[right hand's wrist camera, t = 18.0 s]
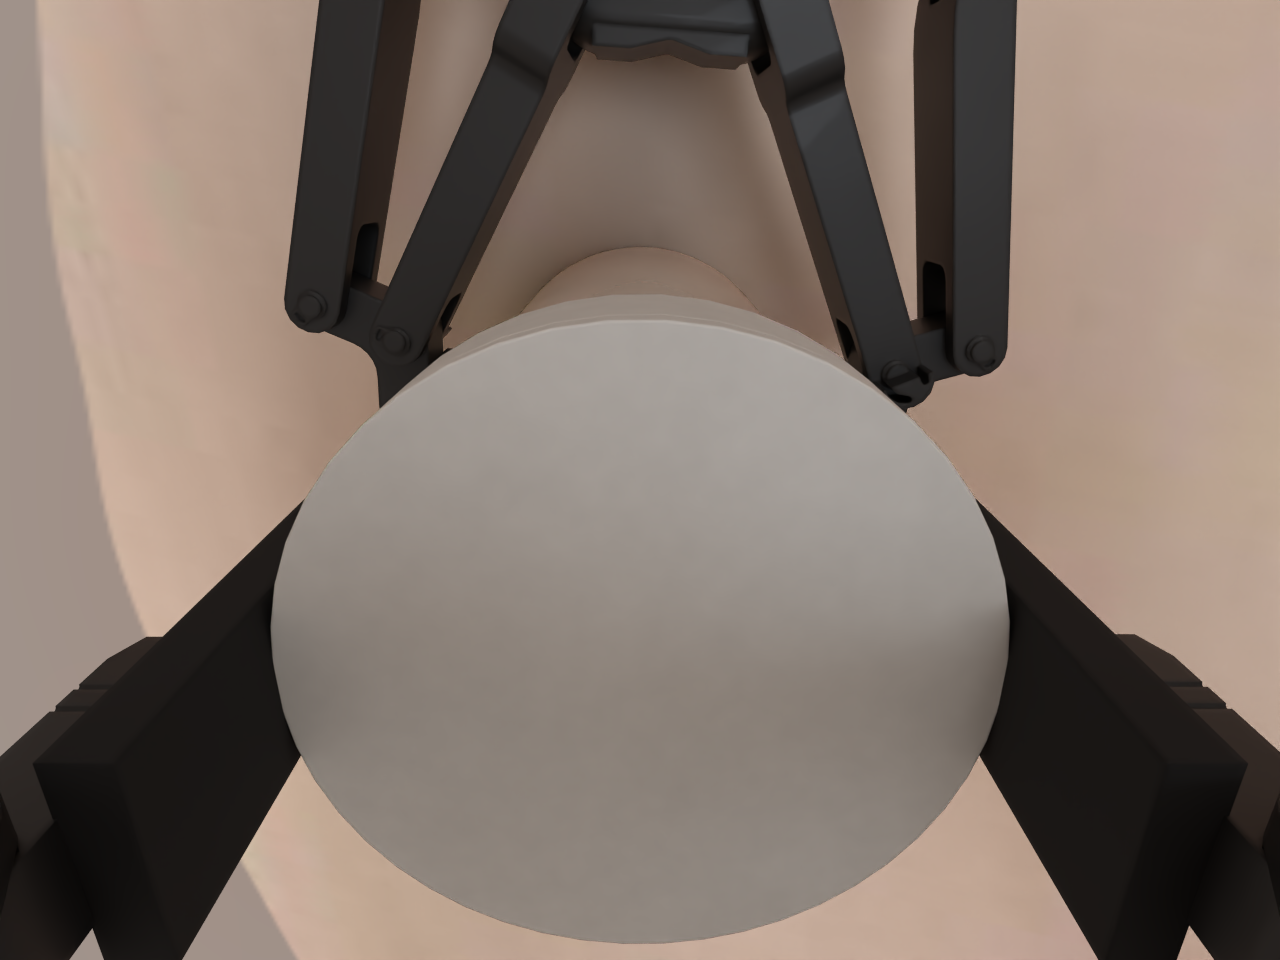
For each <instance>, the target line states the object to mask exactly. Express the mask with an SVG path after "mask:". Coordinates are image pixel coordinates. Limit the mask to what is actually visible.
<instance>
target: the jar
mask: <svg viewBox="0 0 1280 960" xmlns="http://www.w3.org/2000/svg"><path fill="white" fill-rule="evenodd" d="M640 294H662V295H670V296H678V297H686V298H694V299H702V300H709V301H713V302H717V303H721V304H724V305H728V306H732V307H736V308H739V309H743V310H747V311H751V312H754V313H757V314H759V315H761V313H760V312H759V311H758V310H757V309H756V308H755V307H754V305H753V304H752V303H751V302H750V301H749V300H748V298H747V297H746V296H745V295H744V294H743V293H742V291H741V290H740V289H739V288H738V287H737V286H735V285H734V284H733V283H732V282H731V281H730V280H729V279H728V278H727V277H725V276H724V275H723V274H721V273H720V272H719V271H717V270H716V269H714V268H713V267H711V266H709V265H707V264H706V263H704V262H702V261H700V260H698V259H696V258H693V257H691V256H688V255H685V254H682V253H680V252H676V251H671V250H667V249H662V248H652V247H627V248H619V249H614V250H609V251H604V252H601V253H598V254H595V255H592V256H589V257H587V258H585V259H583V260H581V261H579V262H577V263H575V264H573V265H571V266H569V267H568V268H566V269H565V270H563V271H562V272H560V273H559V274H557V275H556V276H555V277H554V278H552V279H551V280H550V281H549V282H548V283H547V284H546V285H545V286H544V287H543V288H542V289H541V290H540V291H539V292H538V293H537V294H536V295H535V297H534V298H533V299H532V300H531V301H530V302H529V304H528V305H527V306H526V307H525V308H524V309H523V311H522V312H521V313H520V314H524V313H527V312H531V311H534V310H538V309H541V308H545V307H548V306H552V305H555V304H559V303H562V302H566V301H573V300H580V299H587V298H594V297H601V296H608V295H640ZM520 314H519V315H520ZM761 316H762V315H761Z"/></svg>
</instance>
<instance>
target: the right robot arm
mask: <svg viewBox="0 0 1280 960" xmlns="http://www.w3.org/2000/svg"><path fill="white" fill-rule="evenodd" d="M304 500H305V499H304ZM304 500H303V501H302V502H301V503H300V504H299V505H298V506H297V507H296V508H295V509H294V510H293V511H292V512H291V513H290V514H289V515H288V516H287V517H286V518H285V519H284V520H283V521H282V522H280V523H279V524H278V525H277V526H276V527H275V528H274V529H273V530H272V531H271V532H270V533H269V534H268V535H267V536H266V537H265V538H264V539H263V540H262V541H261V542H260V543H259V544H258V545H257V546H256V547H255V548H254V549H253V550H252V551H251V552H250V553H249V554H248V555H246V556H245V557H244V558H243V559H242V560H241V561H240V562H239V563H238V564H237V565H236V566H235V567H234V568H233V569H232V570H231V571H230V572H229V573H228V574H227V575H226V576H225V577H224V578H223V579H222V580H221V581H220V582H219V583H218V584H217V585H216V586H215V587H214V588H213V589H211V590H210V591H209V592H208V593H207V594H206V595H205V596H204V597H203V598H202V599H201V600H200V601H199V602H198V603H197V604H196V605H195V606H194V607H193V608H192V609H191V610H190V611H189V612H188V613H187V614H186V615H185V616H184V617H183V618H182V619H181V620H180V621H179V622H177V623H176V624H175V625H174V626H173V627H172V628H171V629H170V630H169V631H168V632H167V633H166V634H165V635H164V636H163V637H145V638H144V639H142V640H140V641H138V642H137V643H135V644H133V645H131V646H129V647H128V648H126V649H124V650H122V651H121V652H119V653H117V654H115V655H113V656H112V657H110V658H108V659H107V660H106V661H105V662H103V663H102V664H101V665H100V666H99V667H98V668H97V669H96V670H95V671H94V672H93V673H91V674H90V675H89V676H88V677H87V678H86V679H85V680H84V681H83V682H82V683H80V684H79V686H80V687H79V689H78V690H73V691H72V692H71V693H70V694H68V695H67V696H66V697H65V698H64V699H63V700H62V701H61V702H60V703H59V704H57V705H56V710H55V712H49V713H48V714H46V715H45V716H44V717H43V718H42V719H41V720H40V721H39V722H38V723H37V724H35V725H34V726H33V727H32V728H31V729H30V730H29V731H28V732H27V733H26V734H24V735H23V736H22V737H21V738H20V739H19V740H18V741H17V742H16V743H15V744H14V745H12V746H11V747H10V748H9V749H8V750H7V751H6V752H5V753H4V754H3V755H1V756H0V960H69V959H70V958H71V957H72V955H73V954H74V953H75V951H76V950H77V948H78V947H79V946H80V944H81V943H82V942H83V940H84V939H85V937H86V936H87V935H88V933H89V932H90V931H91V929H92V928H93V931H94V934H95V936H96V939H97V942H98V945H99V947H100V950H101V953H102V956H103V958H104V960H182V959H183V957H184V955H185V954H186V952H187V950H188V949H189V947H190V945H191V943H192V942H193V940H194V938H195V937H196V935H197V933H198V931H199V930H200V928H201V926H202V925H203V923H204V921H205V919H206V918H207V916H208V914H209V913H210V911H211V909H212V907H213V906H214V904H215V902H216V900H217V899H218V897H219V895H220V894H221V892H222V890H223V888H224V887H225V885H226V883H227V882H228V880H229V878H230V876H231V875H232V873H233V871H234V870H235V868H236V866H237V865H238V863H239V861H240V859H241V858H242V856H243V854H244V852H245V851H246V849H247V847H248V846H249V844H250V842H251V840H252V839H253V837H254V835H255V834H256V832H257V830H258V828H259V827H260V825H261V823H262V822H263V820H264V818H265V816H266V815H267V813H268V811H269V810H270V808H271V806H272V804H273V803H274V801H275V799H276V798H277V796H278V794H279V792H280V791H281V789H282V787H283V786H284V784H285V782H286V780H287V779H288V777H289V775H290V773H291V772H292V770H293V768H294V767H295V765H296V763H297V761H298V760H299V758H300V756H301V754H300V752H299V750H298V749H297V747H296V745H295V742H294V739H293V737H292V734H291V732H290V729H289V726H288V724H287V721H286V718H285V716H284V712H283V708H282V703H281V698H280V693H279V689H278V684H277V679H276V674H275V670H274V664H273V658H272V644H271V628H270V627H271V616H272V606H273V595H274V585H275V581H276V577H277V573H278V569H279V565H280V562H281V558H282V554H283V550H284V546H285V542H286V540H287V538H288V536H289V533H290V531H291V529H292V527H293V524H294V522H295V520H296V518H297V515H298V513H299V511H300V508H301V506H302V504H303V502H304ZM975 500H976V499H975ZM976 502H977V504H978V506H979V508H980V510H981V512H982V515H983V517H984V519H985V521H986V523H987V525H988V527H989V530H990V532H991V534H992V536H993V539H994V542H995V546H996V550H997V553H998V557H999V560H1000V564H1001V567H1002V571H1003V574H1004V578H1005V584H1006V593H1007V602H1008V610H1009V619H1010V630H1009V654H1008V662H1007V667H1006V672H1005V677H1004V682H1003V687H1002V691H1001V696H1000V701H999V706H998V710H997V714H996V716H995V719H994V722H993V725H992V728H991V730H990V733H989V736H988V739H987V741H986V743H985V745H984V747H983V749H982V751H981V753H980V757H981V759H982V761H983V762H984V764H985V766H986V767H987V769H988V771H989V773H990V774H991V776H992V778H993V780H994V781H995V783H996V785H997V786H998V788H999V790H1000V792H1001V793H1002V795H1003V797H1004V798H1005V800H1006V802H1007V804H1008V805H1009V807H1010V809H1011V810H1012V812H1013V814H1014V816H1015V817H1016V819H1017V821H1018V822H1019V824H1020V826H1021V828H1022V829H1023V831H1024V833H1025V834H1026V836H1027V838H1028V840H1029V841H1030V843H1031V845H1032V846H1033V848H1034V850H1035V852H1036V853H1037V855H1038V857H1039V858H1040V860H1041V862H1042V864H1043V865H1044V867H1045V869H1046V871H1047V872H1048V874H1049V876H1050V877H1051V879H1052V881H1053V883H1054V884H1055V886H1056V888H1057V889H1058V891H1059V893H1060V895H1061V896H1062V898H1063V900H1064V901H1065V903H1066V905H1067V907H1068V908H1069V910H1070V912H1071V913H1072V915H1073V917H1074V919H1075V920H1076V922H1077V924H1078V925H1079V927H1080V929H1081V931H1082V932H1083V934H1084V936H1085V937H1086V939H1087V941H1088V943H1089V944H1090V946H1091V948H1092V950H1093V951H1094V953H1095V955H1096V956H1097V958H1098V960H1177V957H1178V954H1179V952H1180V949H1181V946H1182V944H1183V941H1184V938H1185V935H1186V933H1187V930H1188V927H1189V926H1190V927H1191V928H1192V930H1193V931H1194V932H1195V934H1196V935H1197V937H1198V938H1199V939H1200V941H1201V942H1202V943H1203V945H1204V946H1205V947H1206V949H1207V950H1208V952H1209V953H1210V954H1211V956H1212V957H1213V958H1214V960H1280V752H1279V751H1278V750H1277V749H1276V748H1275V747H1274V746H1273V745H1271V744H1270V743H1269V742H1268V741H1267V740H1266V739H1265V738H1264V737H1263V736H1261V735H1260V734H1259V733H1258V732H1257V731H1256V730H1255V729H1254V728H1253V727H1252V726H1250V725H1249V724H1248V723H1247V722H1246V721H1245V720H1244V719H1243V718H1242V717H1240V716H1239V715H1238V714H1237V713H1236V712H1235V711H1234V710H1233V709H1227V708H1226V703H1225V702H1224V701H1223V700H1222V699H1221V698H1219V697H1218V696H1217V695H1216V694H1215V693H1214V692H1213V691H1212V690H1211V689H1210V688H1208V687H1203V686H1202V681H1201V680H1200V679H1198V678H1197V677H1196V676H1195V675H1194V674H1193V673H1192V672H1191V671H1190V670H1189V669H1187V668H1186V667H1185V666H1184V665H1183V664H1182V663H1181V662H1180V661H1179V660H1178V659H1176V658H1175V657H1174V656H1173V655H1171V654H1169V653H1167V652H1165V651H1164V650H1162V649H1160V648H1158V647H1156V646H1155V645H1153V644H1151V643H1149V642H1147V641H1146V640H1144V639H1142V638H1140V637H1139V636H1137V635H1135V634H1114V633H1113V632H1112V631H1111V630H1110V629H1109V628H1108V627H1107V626H1106V625H1105V624H1104V623H1103V622H1102V621H1101V620H1100V619H1099V618H1098V617H1097V616H1096V615H1095V614H1094V613H1093V612H1092V611H1091V610H1090V609H1089V608H1088V607H1087V606H1086V605H1085V604H1083V603H1082V602H1081V601H1080V600H1079V599H1078V598H1077V597H1076V596H1075V595H1074V594H1073V593H1072V592H1071V591H1070V590H1069V589H1068V588H1067V587H1066V586H1065V585H1064V584H1063V583H1062V582H1061V581H1060V580H1059V579H1058V578H1057V577H1056V576H1055V575H1054V574H1053V573H1052V572H1051V571H1049V570H1048V569H1047V568H1046V567H1045V566H1044V565H1043V564H1042V563H1041V562H1040V561H1039V560H1038V559H1037V558H1036V557H1035V556H1034V555H1033V554H1032V553H1031V552H1030V551H1029V550H1028V549H1027V548H1026V547H1025V546H1024V545H1023V544H1022V543H1021V542H1020V541H1019V540H1018V539H1017V538H1015V537H1014V536H1013V535H1012V534H1011V533H1010V532H1009V531H1008V530H1007V529H1006V528H1005V527H1004V526H1003V525H1002V524H1001V523H1000V522H999V521H998V520H997V519H996V518H995V517H994V516H993V515H992V514H991V513H990V512H989V511H988V510H987V509H986V508H985V507H984V506H983V505H981V504H980V503H979V502H978V501H977V500H976Z"/></svg>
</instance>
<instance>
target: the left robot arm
mask: <svg viewBox="0 0 1280 960" xmlns="http://www.w3.org/2000/svg"><path fill="white" fill-rule="evenodd" d="M420 2H421V0H319V7H318V16H317V24H316V33H315V41H314V50H313V58H312V67H311V75H310V84H309V92H308V101H307V109H306V118H305V126H304V135H303V143H302V152H301V160H300V169H299V177H298V186H297V194H296V203H295V211H294V220H293V228H292V237H291V245H290V254H289V262H288V271H287V279H286V288H285V296H284V301H285V310H286V312H287V314H288V316H289V318H290V320H291V321H292V322H293V323H294V324H295V325H296V326H297V327H299V328H301V329H303V330H305V331H307V332H313V333H321V332H324V331H325V332H327V333H330V334H332V335H335V336H337V337H339V338H342V339H344V340H347V341H349V342H351V343H354V344H355V345H357V346H359V347H361V348H362V349H363V350H364V351H365V352H367V353H368V355H369V356H370V357H371V359H372V360H373V362H374V364H375V367H376V370H377V375H378V390H379V407H380V408H381V407H382V406H383V405H385V404H386V403H387V402H388V401H389V400H390V399H391V398H392V397H393V396H395V395H396V394H397V393H398V392H399V391H400V390H401V389H402V388H403V387H405V386H406V385H407V384H408V383H409V382H410V381H411V380H413V379H414V378H415V377H416V376H417V375H419V374H420V373H421V372H422V371H423V370H425V369H426V368H427V367H428V366H429V365H431V364H432V363H433V362H434V361H435V360H437V359H438V358H439V357H440V356H442V355H443V354H445V353H447V352H448V351H450V350H452V349H451V348H447V349H446V350H445V351H444V352H443V337H445V336H446V335H447V334H448V332H449V331H450V330H451V329H452V328H451V327H449V325H450V323H451V321H452V319H453V316H454V314H455V312H456V310H457V308H458V306H459V304H460V302H461V300H462V298H463V296H464V294H465V292H466V289H467V287H468V285H469V283H470V281H471V279H472V277H473V275H474V273H475V271H476V269H477V267H478V265H479V262H480V260H481V258H482V256H483V254H484V252H485V250H486V248H487V246H488V244H489V242H490V240H491V238H492V235H493V233H494V231H495V229H496V227H497V225H498V223H499V221H500V219H501V217H502V215H503V213H504V211H505V208H506V206H507V204H508V202H509V200H510V198H511V196H512V194H513V192H514V190H515V188H516V186H517V184H518V181H519V179H520V177H521V175H522V173H523V171H524V169H525V167H526V165H527V163H528V161H529V159H530V157H531V154H532V152H533V150H534V148H535V146H536V144H537V142H538V140H539V138H540V136H541V134H542V132H543V130H544V127H545V125H546V123H547V121H548V119H549V117H550V115H551V113H552V111H553V109H554V107H555V105H556V103H557V101H558V99H559V98H560V96H561V95H562V94H563V92H564V91H565V89H566V87H567V86H568V84H569V82H570V80H571V78H572V76H573V74H574V72H575V69H576V67H577V65H578V63H579V61H580V59H581V57H582V55H583V53H584V51H585V50H587V51H589V52H592V53H594V54H596V57H597V59H602V60H615V61H628V62H632V61H637V60H641V59H646V58H650V57H655V56H659V55H664V54H669V55H672V56H674V57H677V58H680V59H682V60H685V61H687V62H690V63H693V64H695V65H698V66H700V67H707V68H720V69H733V70H736V69H737V68H738V66H739V65H741V64H745V63H748V65H749V69H750V72H751V75H752V78H753V81H754V85H755V88H756V91H757V94H758V97H759V100H760V102H761V104H762V107H763V108H764V110H765V112H766V113H767V115H768V118H769V121H770V123H771V127H772V130H773V133H774V136H775V139H776V143H777V146H778V149H779V152H780V155H781V159H782V162H783V165H784V168H785V171H786V174H787V178H788V181H789V184H790V187H791V190H792V194H793V197H794V200H795V203H796V206H797V209H798V213H799V216H800V219H801V222H802V225H803V229H804V232H805V235H806V238H807V241H808V245H809V248H810V251H811V254H812V257H813V260H814V264H815V267H816V270H817V273H818V276H819V280H820V283H821V286H822V289H823V292H824V296H825V299H826V302H827V305H828V308H829V311H830V315H831V318H832V321H833V324H834V327H835V331H836V334H837V337H838V340H839V343H840V346H841V350H842V353H843V356H844V359H845V361H846V362H847V363H848V364H850V365H851V366H852V367H853V368H854V369H856V370H857V371H858V372H859V373H861V374H862V375H863V376H864V377H866V378H867V379H868V380H869V381H871V382H872V383H873V384H874V385H875V386H876V387H877V388H878V389H879V390H881V391H882V392H883V393H884V394H885V395H886V396H887V397H888V398H889V399H890V400H892V401H893V402H894V403H895V404H896V405H897V406H898V407H899V408H900V409H902V410H903V411H904V412H905V413H906V412H907V408H910V407H914V406H916V405H918V404H920V403H921V402H923V401H924V400H925V399H926V398H927V396H928V395H929V394H930V393H931V390H932V387H933V385H934V382H935V381H938V380H942V379H946V378H949V377H953V376H957V375H961V374H966V375H968V376H978V377H980V376H983V375H986V374H989V373H991V372H992V371H994V370H995V369H996V368H998V367H999V366H1000V364H1001V363H1002V361H1003V359H1004V358H1005V355H1006V351H1007V340H1008V304H1009V268H1010V231H1011V195H1012V159H1013V122H1014V86H1015V50H1016V14H1017V0H919V2H918V6H917V14H916V21H915V28H914V50H913V63H914V128H915V192H916V257H917V319H915V320H911V321H910V319H909V315H908V312H907V308H906V305H905V301H904V297H903V294H902V290H901V287H900V283H899V279H898V276H897V272H896V269H895V265H894V261H893V258H892V254H891V250H890V247H889V243H888V240H887V236H886V232H885V229H884V225H883V222H882V218H881V214H880V211H879V207H878V204H877V200H876V196H875V193H874V189H873V186H872V182H871V178H870V175H869V171H868V167H867V164H866V160H865V157H864V153H863V149H862V146H861V142H860V139H859V135H858V131H857V128H856V124H855V121H854V117H853V113H852V110H851V106H850V102H849V99H848V95H847V92H846V87H845V81H844V75H845V64H844V56H843V52H842V47H841V44H840V40H839V37H838V33H837V29H836V26H835V22H834V18H833V15H832V11H831V7H830V4H829V0H509V3H508V5H507V7H506V9H505V12H504V14H503V16H502V18H501V21H500V23H499V26H498V28H497V31H496V34H495V37H494V41H493V47H492V53H491V57H490V59H489V62H488V64H487V67H486V69H485V71H484V73H483V76H482V78H481V80H480V82H479V85H478V87H477V89H476V91H475V94H474V96H473V98H472V100H471V103H470V105H469V107H468V109H467V112H466V114H465V116H464V118H463V121H462V123H461V125H460V127H459V130H458V132H457V134H456V136H455V139H454V141H453V143H452V145H451V148H450V150H449V152H448V154H447V157H446V159H445V161H444V163H443V166H442V168H441V170H440V172H439V175H438V177H437V179H436V181H435V184H434V186H433V188H432V190H431V193H430V195H429V197H428V199H427V202H426V204H425V206H424V208H423V211H422V213H421V215H420V217H419V220H418V222H417V224H416V226H415V229H414V231H413V233H412V235H411V238H410V240H409V242H408V244H407V247H406V249H405V251H404V253H403V256H402V258H401V260H400V262H399V265H398V267H397V269H396V271H395V274H394V276H393V278H392V280H391V283H390V285H389V287H388V286H385V285H383V284H381V283H378V282H377V275H378V269H379V263H380V257H381V250H382V244H383V238H384V232H385V225H386V219H387V213H388V207H389V200H390V194H391V188H392V181H393V175H394V169H395V163H396V156H397V150H398V144H399V138H400V131H401V125H402V119H403V113H404V106H405V100H406V94H407V88H408V81H409V75H410V69H411V63H412V56H413V50H414V44H415V38H416V31H417V25H418V19H419V11H420Z"/></svg>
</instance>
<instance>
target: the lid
mask: <svg viewBox="0 0 1280 960" xmlns="http://www.w3.org/2000/svg"><path fill="white" fill-rule="evenodd" d="M270 628H271V644H272V658H273V664H274V670H275V674H276V679H277V684H278V689H279V693H280V698H281V703H282V708H283V712H284V716H285V718H286V721H287V724H288V726H289V729H290V732H291V734H292V737H293V739H294V742H295V745H296V747H297V749H298V750H299V752H300V754H301V756H302V758H303V760H304V761H305V763H306V765H307V767H308V769H309V770H310V772H311V774H312V776H313V778H314V780H315V781H316V782H317V784H318V785H319V787H320V788H321V789H322V791H323V792H324V793H325V795H326V796H327V797H328V799H329V800H330V801H331V803H332V804H333V806H334V807H335V808H336V810H337V811H338V812H339V813H340V814H341V816H342V817H343V818H344V819H345V820H346V821H347V822H348V823H349V824H350V825H351V826H352V827H353V828H354V829H355V830H356V831H357V832H358V833H359V834H360V835H361V837H362V838H363V839H364V840H365V841H366V842H367V843H369V844H370V845H371V846H372V847H373V848H375V849H376V850H377V851H378V852H380V853H381V854H382V855H383V856H384V857H386V858H387V859H388V860H389V861H390V862H392V863H393V864H394V865H395V866H396V867H398V868H399V869H401V870H402V871H404V872H405V873H407V874H408V875H410V876H412V877H413V878H415V879H416V880H418V881H419V882H421V883H422V884H424V885H425V886H427V887H428V888H430V889H432V890H434V891H436V892H437V893H439V894H441V895H443V896H445V897H447V898H449V899H451V900H453V901H455V902H457V903H459V904H461V905H463V906H465V907H467V908H469V909H472V910H475V911H477V912H480V913H482V914H485V915H487V916H490V917H492V918H495V919H497V920H500V921H503V922H506V923H509V924H513V925H516V926H520V927H523V928H527V929H530V930H534V931H538V932H541V933H546V934H551V935H557V936H562V937H568V938H573V939H579V940H587V941H598V942H610V943H621V944H643V943H672V942H682V941H692V940H702V939H708V938H713V937H718V936H723V935H729V934H734V933H739V932H744V931H747V930H750V929H754V928H757V927H761V926H764V925H767V924H771V923H774V922H777V921H781V920H784V919H786V918H788V917H791V916H793V915H796V914H798V913H801V912H803V911H806V910H808V909H811V908H813V907H816V906H818V905H820V904H822V903H824V902H826V901H828V900H830V899H831V898H833V897H835V896H837V895H839V894H841V893H843V892H845V891H846V890H848V889H850V888H852V887H854V886H856V885H857V884H859V883H860V882H862V881H863V880H864V879H866V878H867V877H869V876H870V875H872V874H873V873H875V872H876V871H878V870H879V869H881V868H882V867H884V866H885V865H887V864H888V863H889V862H890V861H892V860H893V859H894V858H895V857H896V856H897V855H899V854H900V853H901V852H902V851H903V850H904V849H906V848H907V847H908V846H909V845H910V844H911V843H913V842H914V841H915V840H916V839H917V838H918V837H919V836H920V835H921V834H922V833H923V832H924V831H925V830H926V829H927V828H928V827H929V825H930V824H931V823H932V822H933V821H934V820H935V819H936V818H937V817H938V816H939V815H940V814H941V812H942V811H943V810H944V809H945V808H946V807H947V805H948V804H949V802H950V801H951V800H952V798H953V797H954V795H955V794H956V793H957V791H958V790H959V788H960V787H961V785H962V784H963V783H964V781H965V780H966V778H967V777H968V775H969V774H970V772H971V770H972V768H973V766H974V764H975V762H976V760H977V758H978V757H979V755H980V753H981V751H982V749H983V747H984V745H985V743H986V741H987V739H988V736H989V733H990V730H991V728H992V725H993V722H994V719H995V716H996V714H997V710H998V706H999V701H1000V696H1001V691H1002V687H1003V682H1004V677H1005V672H1006V667H1007V662H1008V654H1009V630H1010V619H1009V610H1008V602H1007V593H1006V584H1005V578H1004V574H1003V571H1002V567H1001V564H1000V560H999V557H998V553H997V550H996V546H995V542H994V539H993V536H992V534H991V532H990V530H989V527H988V525H987V523H986V521H985V519H984V517H983V515H982V512H981V510H980V508H979V506H978V504H977V502H976V500H975V497H974V496H973V494H972V493H971V491H970V490H969V488H968V487H967V485H966V484H965V482H964V481H963V479H962V478H961V476H960V475H959V473H958V472H957V470H956V469H955V467H954V466H953V464H952V463H951V461H950V460H949V458H948V457H947V456H946V455H945V454H944V453H943V452H942V450H941V449H940V448H939V447H938V446H937V445H936V444H935V443H934V442H933V441H932V440H931V439H930V437H929V436H928V435H927V434H926V433H925V432H924V431H923V430H922V429H921V428H920V427H919V426H918V425H917V423H916V422H915V421H914V420H913V419H912V418H910V417H909V416H908V415H907V414H906V413H905V412H904V411H903V410H902V409H900V408H899V407H898V406H897V405H896V404H895V403H894V402H893V401H892V400H890V399H889V398H888V397H887V396H886V395H885V394H884V393H883V392H882V391H881V390H879V389H878V388H877V387H876V386H875V385H874V384H873V383H872V382H871V381H869V380H868V379H867V378H866V377H864V376H863V375H862V374H861V373H859V372H858V371H857V370H856V369H854V368H853V367H852V366H851V365H850V364H848V363H847V362H846V361H845V360H843V359H842V358H841V357H840V356H838V355H837V354H836V353H834V352H833V351H831V350H829V349H828V348H826V347H824V346H822V345H821V344H819V343H817V342H816V341H814V340H812V339H811V338H809V337H807V336H806V335H804V334H802V333H801V332H799V331H797V330H795V329H793V328H790V327H788V326H785V325H783V324H781V323H778V322H776V321H773V320H771V319H769V318H766V317H764V316H761V315H759V314H757V313H754V312H751V311H747V310H743V309H739V308H736V307H732V306H728V305H724V304H721V303H717V302H713V301H709V300H702V299H694V298H686V297H678V296H670V295H662V294H640V295H608V296H601V297H594V298H587V299H580V300H573V301H566V302H562V303H559V304H555V305H552V306H548V307H545V308H541V309H538V310H534V311H531V312H527V313H524V314H520V315H518V316H516V317H514V318H511V319H509V320H507V321H504V322H502V323H500V324H498V325H495V326H493V327H491V328H488V329H486V330H484V331H482V332H479V333H478V334H476V335H474V336H473V337H471V338H469V339H468V340H466V341H465V342H463V343H461V344H460V345H458V346H456V347H455V348H453V349H452V350H450V351H448V352H447V353H445V354H443V355H442V356H440V357H439V358H438V359H437V360H435V361H434V362H433V363H432V364H431V365H429V366H428V367H427V368H426V369H425V370H423V371H422V372H421V373H420V374H419V375H417V376H416V377H415V378H414V379H413V380H411V381H410V382H409V383H408V384H407V385H406V386H405V387H403V388H402V389H401V390H400V391H399V392H398V393H397V394H396V395H395V396H393V397H392V398H391V399H390V400H389V401H388V402H387V403H386V404H385V405H383V406H382V407H381V408H380V409H379V410H378V411H377V412H376V413H375V414H374V415H372V416H371V417H370V418H369V419H368V420H367V421H366V422H365V423H364V424H362V425H361V427H360V428H359V429H358V430H357V431H356V432H355V433H354V434H353V436H352V437H351V438H350V439H349V440H348V441H347V442H346V443H345V445H344V446H343V447H342V448H341V449H340V450H339V451H338V452H337V454H336V455H335V456H334V457H333V458H332V459H331V460H330V461H329V463H328V464H327V466H326V467H325V469H324V471H323V472H322V474H321V475H320V477H319V478H318V480H317V481H316V483H315V484H314V486H313V488H312V489H311V491H310V492H309V494H308V495H307V497H306V498H305V500H304V502H303V504H302V506H301V508H300V511H299V513H298V515H297V518H296V520H295V522H294V524H293V527H292V529H291V531H290V533H289V536H288V538H287V540H286V542H285V546H284V550H283V554H282V558H281V562H280V565H279V569H278V573H277V577H276V581H275V585H274V595H273V606H272V616H271V627H270Z"/></svg>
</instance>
